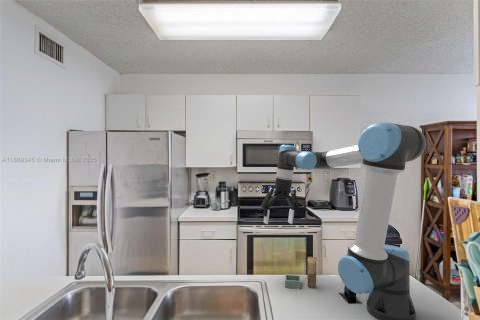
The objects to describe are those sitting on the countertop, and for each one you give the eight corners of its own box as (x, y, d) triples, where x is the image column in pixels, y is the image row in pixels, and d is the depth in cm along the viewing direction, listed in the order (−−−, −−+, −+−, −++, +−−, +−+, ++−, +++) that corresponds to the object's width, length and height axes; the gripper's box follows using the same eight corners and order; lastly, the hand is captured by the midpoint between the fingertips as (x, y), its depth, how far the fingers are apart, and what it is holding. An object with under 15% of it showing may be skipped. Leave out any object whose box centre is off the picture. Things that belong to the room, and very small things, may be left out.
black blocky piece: (367, 307, 100) (367, 294, 100) (347, 307, 100) (347, 295, 100) (351, 292, 113) (351, 280, 113) (334, 292, 112) (334, 281, 112)
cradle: (301, 288, 114) (301, 281, 114) (285, 287, 115) (285, 280, 115) (300, 282, 121) (300, 275, 121) (285, 281, 122) (285, 274, 122)
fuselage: (316, 288, 114) (316, 259, 115) (307, 287, 115) (307, 259, 115) (315, 285, 118) (315, 256, 118) (307, 284, 119) (307, 256, 119)
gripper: (300, 178, 135) (295, 220, 136) (256, 175, 125) (251, 221, 126) (310, 181, 129) (304, 225, 130) (265, 178, 118) (259, 226, 119)
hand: (278, 223), depth 128 cm, fingers open, 13 cm apart
